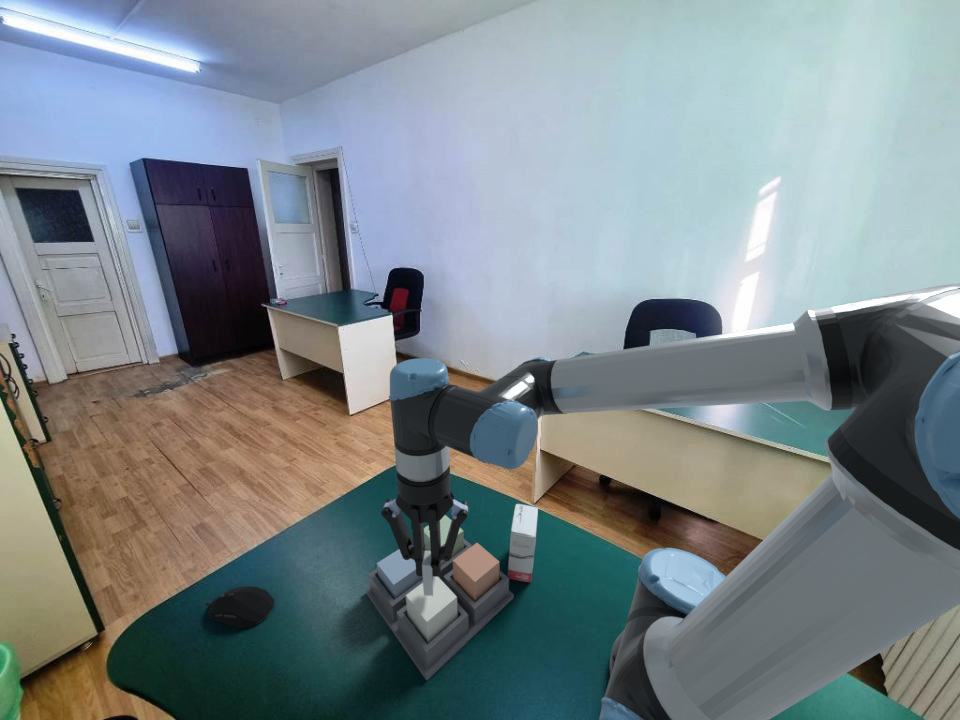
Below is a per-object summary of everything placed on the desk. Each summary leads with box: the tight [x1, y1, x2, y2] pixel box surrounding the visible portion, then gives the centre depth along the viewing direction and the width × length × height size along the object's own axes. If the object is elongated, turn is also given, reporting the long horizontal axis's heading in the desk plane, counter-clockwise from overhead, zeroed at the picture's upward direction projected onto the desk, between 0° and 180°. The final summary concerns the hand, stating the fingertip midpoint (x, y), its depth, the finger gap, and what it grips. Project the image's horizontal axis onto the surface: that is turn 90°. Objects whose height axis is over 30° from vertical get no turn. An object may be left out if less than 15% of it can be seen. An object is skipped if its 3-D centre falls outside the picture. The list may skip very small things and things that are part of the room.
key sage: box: [424, 514, 465, 565], centre depth 75 cm, size 6×6×5 cm
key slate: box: [376, 548, 423, 600], centre depth 69 cm, size 6×6×5 cm
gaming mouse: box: [202, 585, 275, 629], centre depth 68 cm, size 6×15×4 cm, turn 80°
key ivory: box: [406, 577, 458, 644], centre depth 62 cm, size 6×6×5 cm
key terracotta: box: [453, 542, 500, 602], centre depth 68 cm, size 6×6×5 cm
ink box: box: [507, 503, 539, 583], centre depth 76 cm, size 9×5×12 cm, turn 169°
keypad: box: [365, 538, 515, 682], centre depth 70 cm, size 20×20×5 cm
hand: (429, 587), depth 61 cm, fingers closed
